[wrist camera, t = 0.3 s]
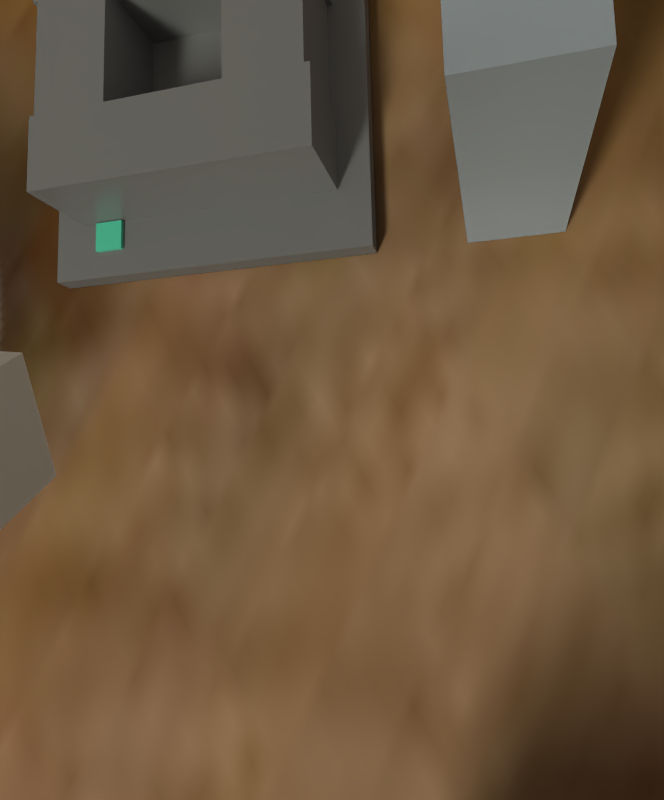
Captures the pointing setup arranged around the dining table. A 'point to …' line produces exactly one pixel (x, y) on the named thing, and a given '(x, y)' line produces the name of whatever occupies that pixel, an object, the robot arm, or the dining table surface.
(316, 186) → the socket block
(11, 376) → the robot arm
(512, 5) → the plug
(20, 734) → the dining table surface
